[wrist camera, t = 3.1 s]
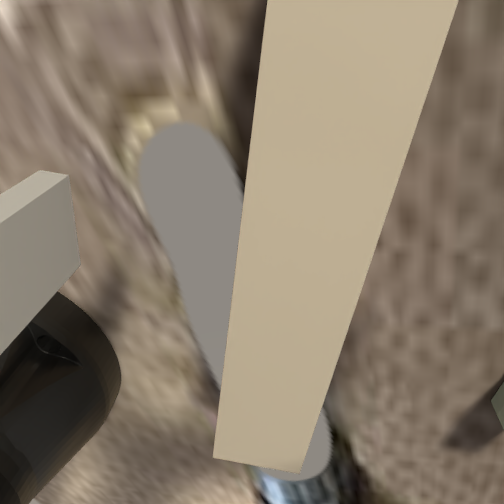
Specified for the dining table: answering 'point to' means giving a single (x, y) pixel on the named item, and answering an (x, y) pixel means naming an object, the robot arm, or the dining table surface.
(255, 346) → the clay slat
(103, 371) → the robot arm
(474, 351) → the dining table surface
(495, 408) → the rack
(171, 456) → the dining table surface
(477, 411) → the dining table surface
